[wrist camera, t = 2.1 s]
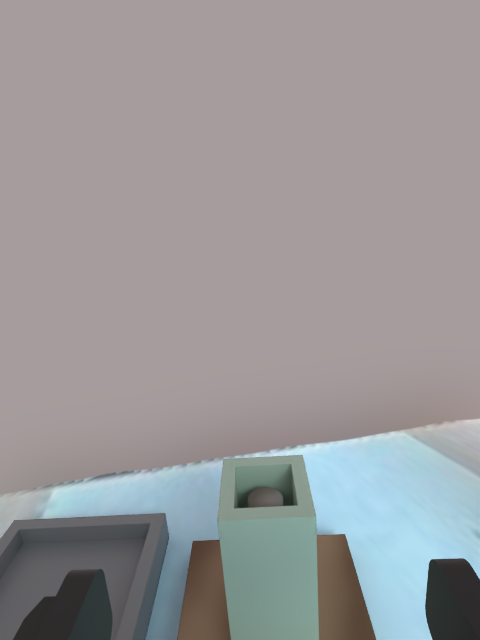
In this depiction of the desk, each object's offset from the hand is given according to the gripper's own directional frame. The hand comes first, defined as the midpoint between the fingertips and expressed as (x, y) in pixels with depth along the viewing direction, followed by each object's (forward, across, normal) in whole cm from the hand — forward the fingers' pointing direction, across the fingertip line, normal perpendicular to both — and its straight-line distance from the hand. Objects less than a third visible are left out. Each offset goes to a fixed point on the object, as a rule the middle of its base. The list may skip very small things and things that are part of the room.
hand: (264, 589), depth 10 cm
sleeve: (+11, 0, +16) cm, 20 cm away
